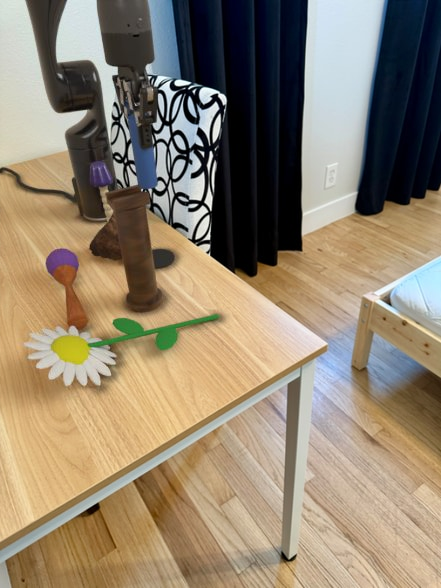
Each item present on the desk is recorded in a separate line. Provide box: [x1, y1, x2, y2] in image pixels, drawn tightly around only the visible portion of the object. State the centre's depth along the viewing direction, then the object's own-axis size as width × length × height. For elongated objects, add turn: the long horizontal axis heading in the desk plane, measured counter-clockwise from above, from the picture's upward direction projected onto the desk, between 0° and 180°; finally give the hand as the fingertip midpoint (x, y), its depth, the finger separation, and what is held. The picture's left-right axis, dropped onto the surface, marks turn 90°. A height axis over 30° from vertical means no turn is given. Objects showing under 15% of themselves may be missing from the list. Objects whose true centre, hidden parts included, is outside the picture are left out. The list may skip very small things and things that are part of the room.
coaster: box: [152, 248, 176, 270], centre depth 88 cm, size 7×7×1 cm
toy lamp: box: [90, 161, 113, 223], centre depth 91 cm, size 5×5×17 cm
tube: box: [127, 114, 159, 190], centre depth 75 cm, size 12×4×4 cm
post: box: [105, 183, 164, 313], centre depth 71 cm, size 6×6×21 cm
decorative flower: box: [23, 313, 220, 387], centre depth 67 cm, size 13×5×30 cm
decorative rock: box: [88, 213, 123, 262], centre depth 86 cm, size 12×6×11 cm, turn 77°
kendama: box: [45, 247, 89, 331], centre depth 77 cm, size 6×6×20 cm
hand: (141, 144), depth 74 cm, fingers closed on tube, 3 cm apart
